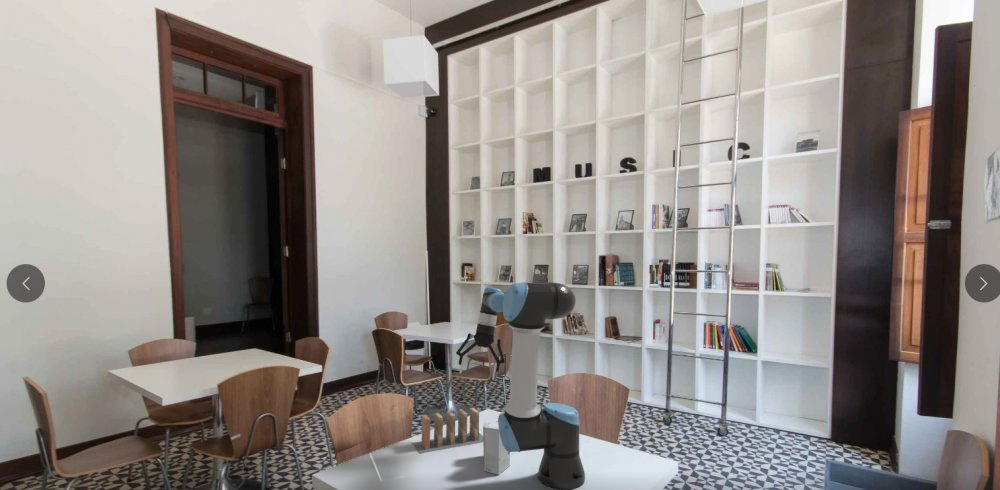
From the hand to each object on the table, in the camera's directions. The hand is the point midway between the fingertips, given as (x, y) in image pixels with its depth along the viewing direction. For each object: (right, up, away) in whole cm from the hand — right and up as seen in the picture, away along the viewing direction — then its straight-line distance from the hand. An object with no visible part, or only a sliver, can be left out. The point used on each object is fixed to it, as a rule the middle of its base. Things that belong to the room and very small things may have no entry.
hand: (476, 376), depth 181 cm
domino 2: (-14, -23, -10) cm, 29 cm away
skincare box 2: (+9, -23, -29) cm, 38 cm away
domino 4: (-5, -24, -5) cm, 25 cm away
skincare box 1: (+7, -24, -22) cm, 33 cm away
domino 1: (-19, -23, -12) cm, 32 cm away
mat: (-10, -24, -7) cm, 27 cm away
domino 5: (-1, -24, -3) cm, 24 cm away
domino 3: (-10, -23, -7) cm, 27 cm away
